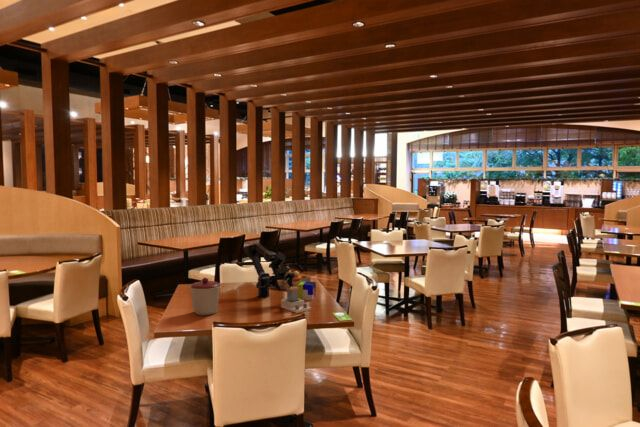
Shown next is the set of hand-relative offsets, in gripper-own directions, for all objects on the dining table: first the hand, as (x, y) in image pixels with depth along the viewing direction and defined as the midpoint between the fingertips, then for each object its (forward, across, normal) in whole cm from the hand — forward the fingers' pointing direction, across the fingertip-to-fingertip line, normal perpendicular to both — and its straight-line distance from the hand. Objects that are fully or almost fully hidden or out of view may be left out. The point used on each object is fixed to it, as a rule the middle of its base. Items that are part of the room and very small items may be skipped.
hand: (286, 289), depth 280 cm
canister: (-3, -48, +18) cm, 51 cm away
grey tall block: (+11, 0, +1) cm, 11 cm away
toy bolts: (-21, +37, +37) cm, 56 cm away
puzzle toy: (+3, +21, +11) cm, 24 cm away
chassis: (+14, 0, -1) cm, 14 cm away
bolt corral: (-21, +33, +36) cm, 53 cm away
